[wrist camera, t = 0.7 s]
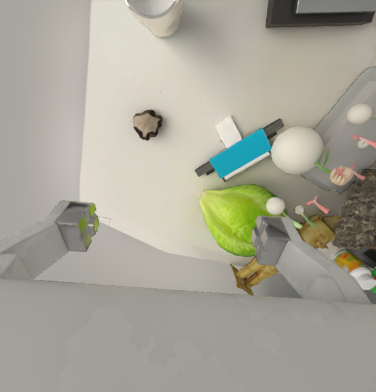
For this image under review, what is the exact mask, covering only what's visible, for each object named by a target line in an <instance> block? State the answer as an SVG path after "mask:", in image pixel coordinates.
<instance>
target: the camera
mask: <svg viewBox="0 0 376 392" xmlns="http://www.w3.org/2000/svg"><path fill="white" fill-rule="evenodd" d="M348 250H349V251H350V252H351V253H352V254H353V255H355V256H356V257H358V258H359V259H360V260H362V261H363V262H364V263H366V264H367V265H369V266H370V267H371V268H374V267H376V250H375V249H369V248H368V246H362V248H361V249H360V250H354V249H351V248H350V249H348Z"/></svg>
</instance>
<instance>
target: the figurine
mask: <svg viewBox="0 0 376 392" xmlns="http://www.w3.org/2000/svg"><path fill="white" fill-rule="evenodd" d="M339 218H340V216H339V215H336V216H322V214H318V215H316V216H314V217H311V218H309V220H310V221H311V222H313V223H315V224H317V225H318V226H317V227H316V228H314V227H313V226H311V225H310V224H309V223H308V222H307V221H305V222H304V223H299V224H301V225H302V228H301V229H299V228H297V229H298V230H299V231H298V233H299V235H300V237H301V239H302V241H303V242H307V243H308V244H310V245H311V246H312V247H314V248H315V249H317V248H319V247H320V248H322V249H323V248H327V246H326V244H327V243H329V242H330V241H333V240H334V239H335V237H336V234H335V229H336V225H337V222H338V219H339ZM325 246H326V247H325ZM230 265H231V264H230ZM231 267H232V270H233V272H234V275H235V278H236V282H237V287H238V288H241V289H243V290H245V291H246V292H247V293H248V294H250V295H253V293H252V290H251V286H254V285H256V284H258V283H259V282H260V281H262V280H263V279H265V278H268V277H270V276H272V275H274V274H275V273H277V272H278V270H277V269H276V267H275V266H269V265H259V264H258V263H257V259H256V256H255V257H254V259H253V260H252V262H251V263H250V264H248V265H247V266H246V267H244V268H242V269H241V270H240V271H238V270H237V269H236V268H235V267H234V266H232V265H231ZM254 272H255V274H253V275H251V274H252V273H254ZM249 275H251V276H250V277H249V278H247V277H248V276H249ZM243 282H244V283H243ZM291 286H292V285H291Z"/></svg>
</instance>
